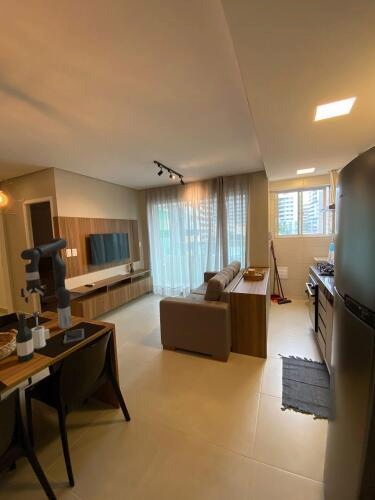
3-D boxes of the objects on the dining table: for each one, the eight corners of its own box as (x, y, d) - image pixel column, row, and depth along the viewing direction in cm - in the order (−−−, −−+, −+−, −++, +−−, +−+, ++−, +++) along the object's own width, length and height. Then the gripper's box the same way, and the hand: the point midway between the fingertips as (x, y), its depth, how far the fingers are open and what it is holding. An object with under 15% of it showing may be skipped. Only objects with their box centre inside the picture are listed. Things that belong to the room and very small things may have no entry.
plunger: (42, 327, 153) (40, 310, 152) (41, 330, 148) (40, 312, 147) (33, 329, 150) (32, 312, 149) (32, 332, 146) (30, 314, 144)
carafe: (50, 341, 157) (48, 324, 156) (49, 345, 150) (47, 328, 149) (33, 345, 152) (31, 327, 151) (32, 350, 145) (30, 332, 144)
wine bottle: (24, 355, 139) (19, 311, 137) (37, 354, 140) (32, 310, 137) (14, 363, 131) (9, 316, 128) (29, 362, 132) (24, 315, 129)
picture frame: (65, 334, 168) (63, 344, 152) (65, 331, 168) (63, 342, 152) (83, 330, 174) (84, 340, 158) (83, 327, 174) (84, 337, 158)
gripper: (45, 276, 153) (47, 298, 154) (20, 278, 146) (23, 301, 147) (44, 278, 146) (46, 300, 148) (18, 281, 139) (21, 304, 141)
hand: (35, 301), depth 147 cm, fingers open, 8 cm apart
